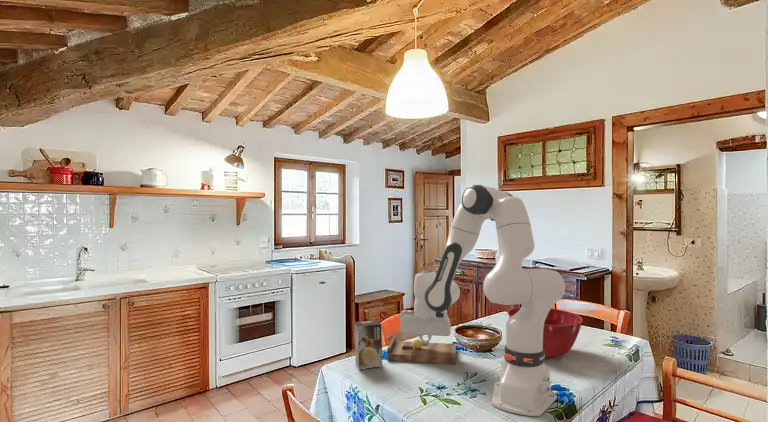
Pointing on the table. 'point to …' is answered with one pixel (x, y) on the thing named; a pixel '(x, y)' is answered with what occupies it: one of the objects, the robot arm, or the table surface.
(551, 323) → the mixing bowl
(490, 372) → the table surface
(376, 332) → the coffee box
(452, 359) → the tray
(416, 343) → the ball
